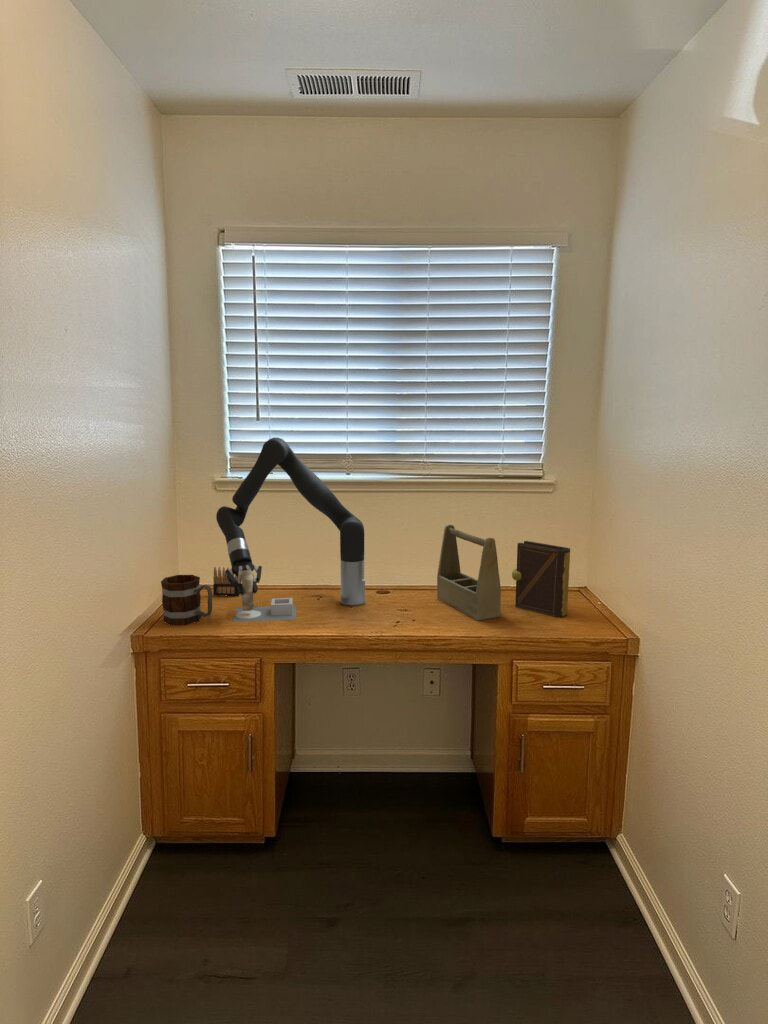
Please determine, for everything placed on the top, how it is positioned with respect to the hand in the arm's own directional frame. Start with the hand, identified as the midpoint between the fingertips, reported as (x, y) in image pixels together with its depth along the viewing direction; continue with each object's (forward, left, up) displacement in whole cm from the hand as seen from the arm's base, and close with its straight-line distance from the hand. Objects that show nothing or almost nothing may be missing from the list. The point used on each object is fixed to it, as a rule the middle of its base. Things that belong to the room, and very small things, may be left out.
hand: (249, 593), depth 236 cm
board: (-5, -3, -10) cm, 12 cm away
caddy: (-81, -5, -10) cm, 82 cm away
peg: (+1, -2, -7) cm, 7 cm away
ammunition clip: (+12, -32, -10) cm, 35 cm away
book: (-107, +1, -10) cm, 108 cm away
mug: (+22, -3, -10) cm, 24 cm away
